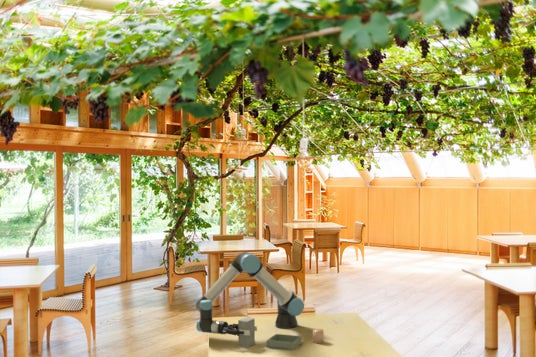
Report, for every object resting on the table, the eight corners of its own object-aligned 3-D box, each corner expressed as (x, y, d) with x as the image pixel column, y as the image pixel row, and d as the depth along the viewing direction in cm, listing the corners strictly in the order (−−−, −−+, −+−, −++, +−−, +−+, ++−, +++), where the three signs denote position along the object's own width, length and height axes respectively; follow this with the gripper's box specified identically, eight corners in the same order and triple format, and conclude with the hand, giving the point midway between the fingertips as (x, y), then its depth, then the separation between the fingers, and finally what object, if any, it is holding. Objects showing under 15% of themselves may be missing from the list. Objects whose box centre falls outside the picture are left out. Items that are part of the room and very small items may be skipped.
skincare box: (247, 342, 308) (246, 316, 308) (255, 344, 303) (255, 318, 304) (237, 346, 301) (237, 319, 302) (246, 348, 297) (246, 321, 297)
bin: (266, 347, 298) (266, 340, 298) (276, 340, 311) (276, 333, 311) (292, 350, 291) (292, 343, 291) (301, 342, 304) (301, 336, 304)
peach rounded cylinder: (311, 342, 304) (311, 331, 305) (315, 339, 310) (314, 328, 310) (321, 343, 302) (321, 332, 302) (325, 340, 308) (324, 329, 308)
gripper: (210, 325, 300) (244, 329, 291) (228, 317, 320) (260, 320, 311) (211, 338, 300) (245, 342, 290) (228, 329, 320) (261, 332, 311)
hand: (253, 330), depth 301 cm, fingers closed on skincare box, 9 cm apart
